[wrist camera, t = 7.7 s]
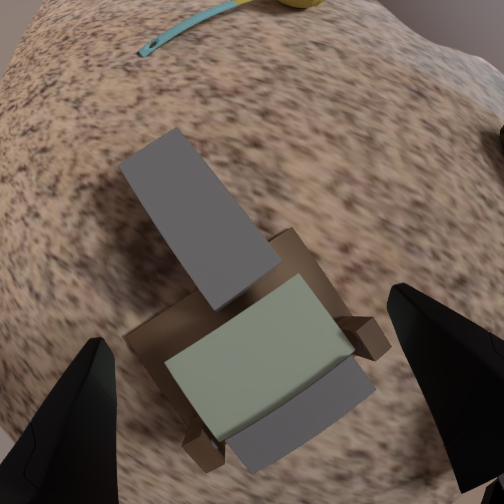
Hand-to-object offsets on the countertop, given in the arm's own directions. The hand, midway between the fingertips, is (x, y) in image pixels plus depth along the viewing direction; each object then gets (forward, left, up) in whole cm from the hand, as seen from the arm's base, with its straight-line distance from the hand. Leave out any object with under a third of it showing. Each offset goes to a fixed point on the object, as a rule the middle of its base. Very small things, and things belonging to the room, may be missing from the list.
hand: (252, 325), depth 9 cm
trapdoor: (-1, -4, -10) cm, 11 cm away
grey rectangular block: (+1, +1, -11) cm, 11 cm away
